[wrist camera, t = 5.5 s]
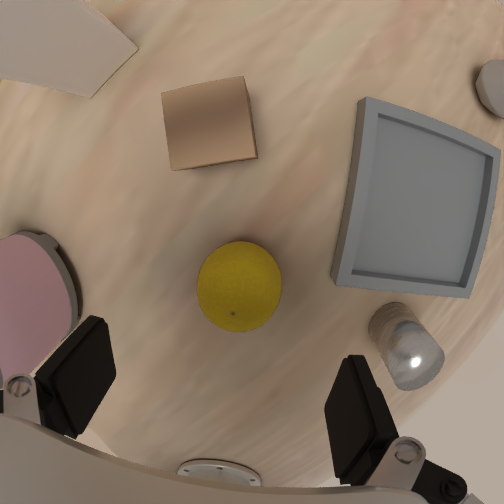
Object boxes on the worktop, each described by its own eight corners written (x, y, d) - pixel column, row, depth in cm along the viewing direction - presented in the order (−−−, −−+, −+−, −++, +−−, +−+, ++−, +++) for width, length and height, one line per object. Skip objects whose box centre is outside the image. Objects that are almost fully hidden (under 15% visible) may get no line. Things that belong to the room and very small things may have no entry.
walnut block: (258, 158, 21) (255, 156, 16) (192, 169, 21) (171, 170, 16) (248, 95, 19) (243, 75, 14) (183, 107, 20) (161, 93, 15)
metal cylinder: (401, 343, 25) (429, 388, 18) (362, 342, 25) (385, 391, 18) (416, 303, 23) (452, 344, 17) (376, 300, 23) (407, 345, 17)
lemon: (279, 229, 22) (286, 265, 14) (279, 295, 24) (283, 354, 16) (206, 230, 22) (177, 266, 15) (212, 295, 24) (190, 353, 16)
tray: (458, 290, 23) (469, 298, 21) (330, 275, 23) (335, 285, 21) (487, 149, 19) (500, 150, 17) (358, 101, 19) (366, 96, 17)
